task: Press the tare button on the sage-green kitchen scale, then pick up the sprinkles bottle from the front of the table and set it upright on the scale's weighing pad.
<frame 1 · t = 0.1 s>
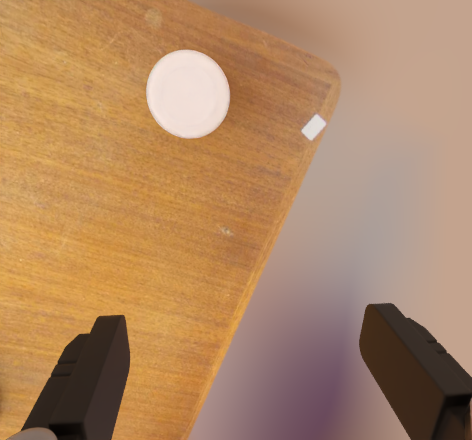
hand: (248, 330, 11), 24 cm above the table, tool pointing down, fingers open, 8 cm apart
sprinkles bottle: (194, 93, 30), on the table
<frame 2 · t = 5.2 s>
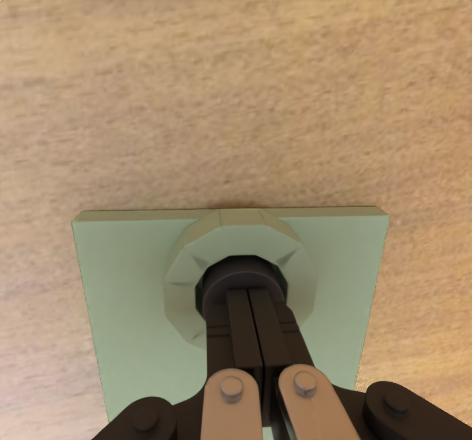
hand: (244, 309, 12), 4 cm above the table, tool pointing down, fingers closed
tare button: (241, 293, 13), point 3 cm above the table, slide at -0.6 cm, touching gripper
scale: (233, 350, 17), on the table
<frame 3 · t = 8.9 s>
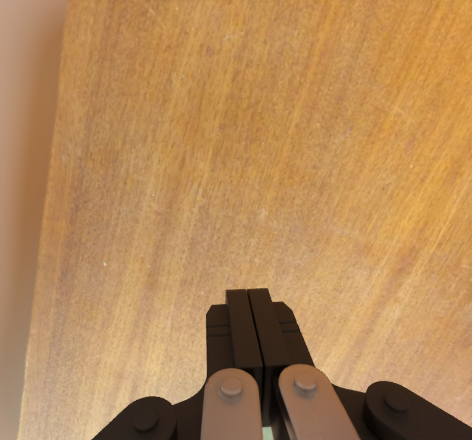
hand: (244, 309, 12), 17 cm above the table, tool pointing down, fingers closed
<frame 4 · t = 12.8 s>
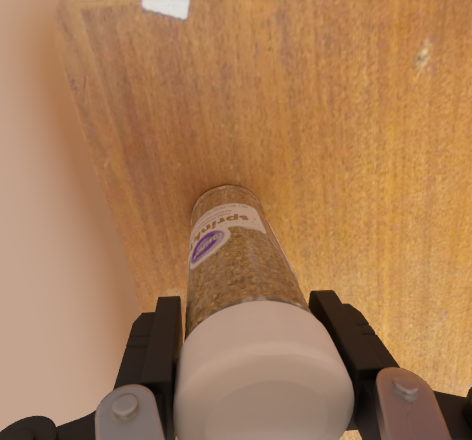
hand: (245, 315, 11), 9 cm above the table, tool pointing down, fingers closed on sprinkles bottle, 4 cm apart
sprinkles bottle: (226, 217, 20), on the table, touching gripper
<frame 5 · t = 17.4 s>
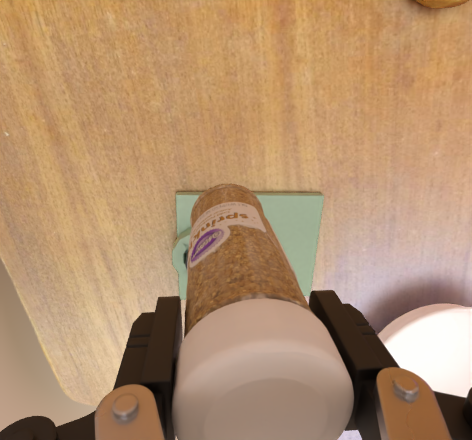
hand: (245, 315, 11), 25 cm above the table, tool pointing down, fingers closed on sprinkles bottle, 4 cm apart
bowl: (409, 337, 46), on the table
tare button: (200, 260, 34), point 4 cm above the table, slide at 0.1 cm
scale: (247, 245, 38), on the table
sprinkles bottle: (226, 216, 20), point 15 cm above the table, touching gripper
when the fingers open (11 cm above the table, at t = 22.0 s): sprinkles bottle stays where it is, resting on scale.
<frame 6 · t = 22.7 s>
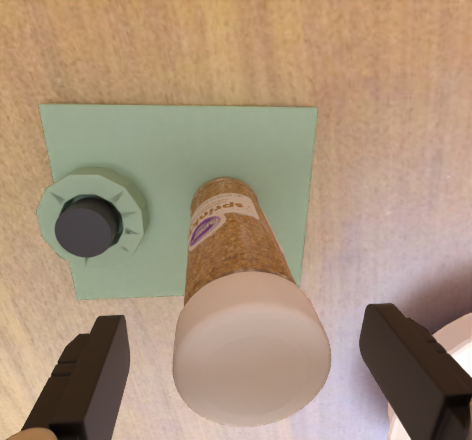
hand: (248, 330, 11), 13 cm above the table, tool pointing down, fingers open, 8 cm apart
bowl: (455, 353, 30), on the table
tare button: (88, 227, 18), point 4 cm above the table, slide at 0.1 cm
scale: (188, 205, 22), on the table
sprinkles bottle: (224, 208, 21), point 1 cm above the table, touching scale
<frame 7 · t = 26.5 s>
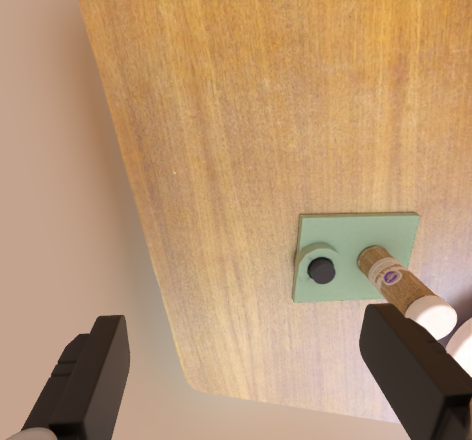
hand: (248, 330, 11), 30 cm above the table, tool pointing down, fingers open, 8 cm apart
tare button: (321, 270, 42), point 4 cm above the table, slide at 0.1 cm
scale: (351, 256, 46), on the table
sprinkles bottle: (371, 258, 45), point 1 cm above the table, touching scale
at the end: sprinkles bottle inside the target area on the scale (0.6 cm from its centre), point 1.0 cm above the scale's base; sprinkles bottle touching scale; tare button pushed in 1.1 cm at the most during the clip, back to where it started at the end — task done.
